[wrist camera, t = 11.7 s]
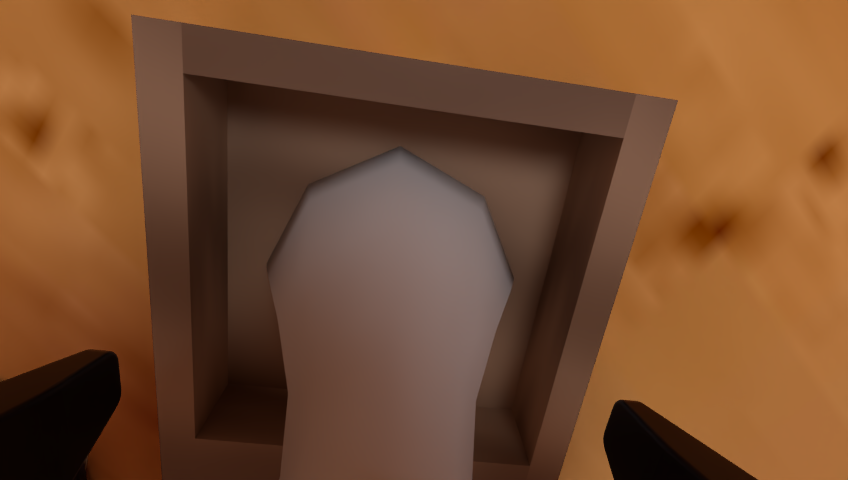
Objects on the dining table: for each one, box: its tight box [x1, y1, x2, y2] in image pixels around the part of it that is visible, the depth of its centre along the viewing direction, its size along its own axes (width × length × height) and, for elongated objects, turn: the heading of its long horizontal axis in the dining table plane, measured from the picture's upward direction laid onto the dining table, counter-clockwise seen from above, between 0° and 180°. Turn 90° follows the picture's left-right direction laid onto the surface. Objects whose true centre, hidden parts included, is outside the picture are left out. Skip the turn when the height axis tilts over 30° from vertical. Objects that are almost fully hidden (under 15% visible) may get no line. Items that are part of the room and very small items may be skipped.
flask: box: [266, 146, 514, 480], centre depth 9 cm, size 7×7×10 cm
